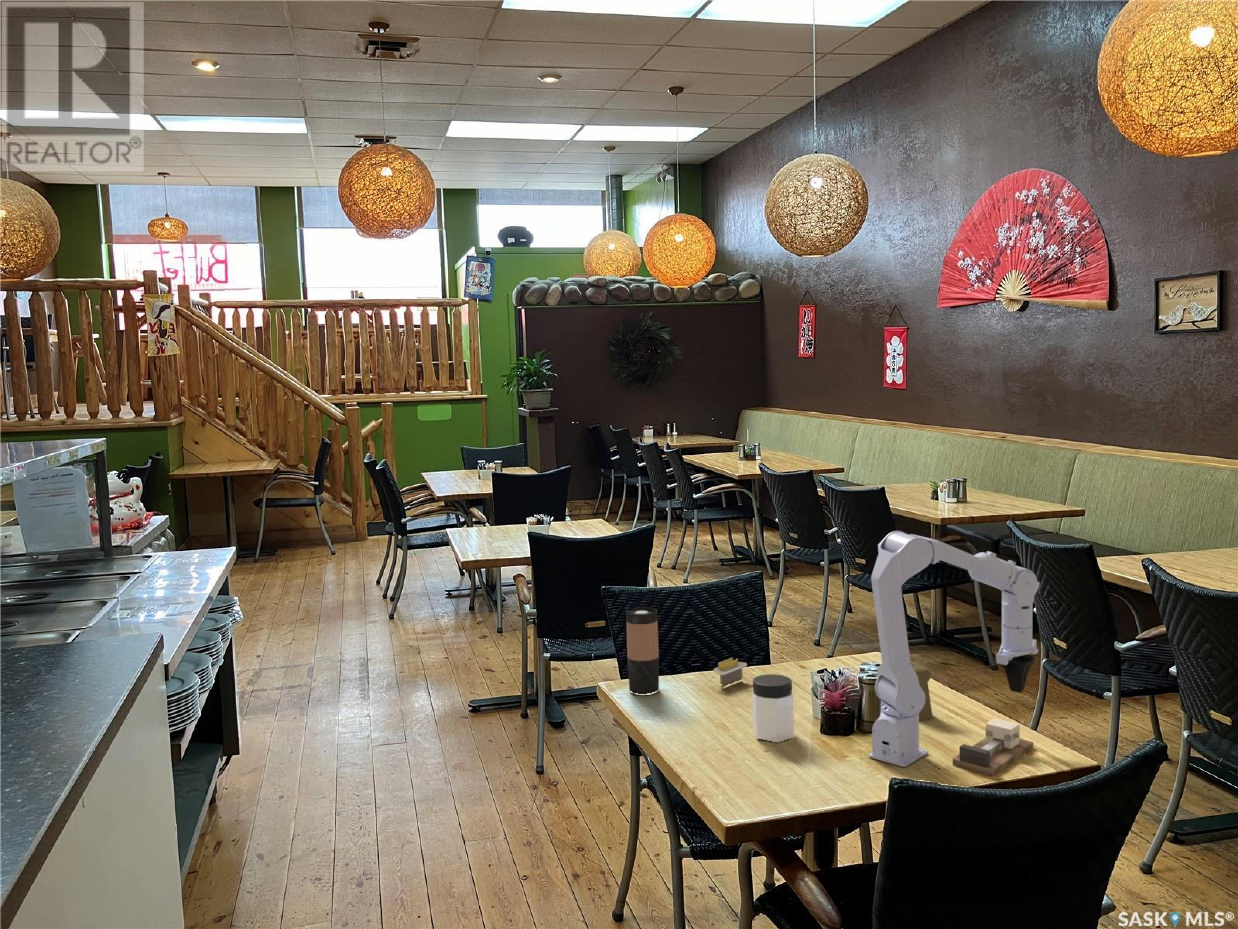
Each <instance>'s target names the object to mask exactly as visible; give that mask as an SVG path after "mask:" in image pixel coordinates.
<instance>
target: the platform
mask: <svg viewBox="0 0 1238 929" xmlns="http://www.w3.org/2000/svg"><path fill="white" fill-rule="evenodd" d="M717 663H718V664H717V665H718V666H717V667H715V668H713V672H714V673H715V674H717V675H719V676H720V677H719V680H720V681H719V685H720V684H722V687H724V686H726V685H728V684H732V683H734V682H735V681H739V680H741V679H742V680H743V668H745V667H747V666H748V664H747V662H744V661H743V662H742V661H739V658H736V659H734V660H733V657H731V658H728V659H724V660H722V661H719V662H717ZM722 687H721V688H722Z"/></svg>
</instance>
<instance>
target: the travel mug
mask: <svg viewBox="0 0 1238 929" xmlns="http://www.w3.org/2000/svg"><path fill="white" fill-rule="evenodd" d="M625 616H626V646H627V647H626V648H627V649H626V652H627V654H626V656H627V672H628V687H629V688H628V689H629V692H630V691H632V692H633V693H638V694H647V693H652V692H655V691H657V690H658V689H660V670H659V669H660V663H659V662H660V661H659V660H660V657H659V656H660V654H659V653H660V651H659V628H658V627H659V626H658V610H657V609H656V608H654V607H649V606H637V607H634V608H633V609H632V610H629V609H627V610H626V613H625Z"/></svg>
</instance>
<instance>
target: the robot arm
mask: <svg viewBox="0 0 1238 929" xmlns="http://www.w3.org/2000/svg"><path fill="white" fill-rule="evenodd" d="M877 548H878V549H877V551H878V555H877V557H876V560H875V564H874V567H873V570H872V573H871V577H870V578H871V587H872V594H873V603H874V612H875V616H876V617H875V619H876V626H877V633H878V640H879V641H878V642H879V647H880V648H879V649H880V656H881V662H882V663H881V664H880V665H879V666H878V667H877V668H876V672H877V676H876V681H875V684H874V691H875V694H876V696H877V697H878V698H879V699H880V715H879V717H878V718H877V719H876V720H875V722H874V723H873V725H872V727H871V728H872V730H871V731H872V732H871V736H872V737H871V738H872V741H871V744H872V747H871V749H872V751H871V752H870V753H868V754H867V755H868V757H869V758H872V759H875V760H878V761H882V762H884V763H889V764H892V765H896V766H898V767H902V768H906V767H907V766H909V765H910V764H912V763H914V762H916V761H917V760H919V759H920V758H922V757H924V756H925V755H927V754H928V753H929V751H928V750H927V749H923V748H920V720H919V712H920V711H921V710H922V708H923V707H924V704H925V693H924V691H923V690H922V688H921V687H920V685H919V680H918V676H917V674H916V672H915V671H914V669H913V667H912V666H913V665H912V663H911V656H910V648H909V641H908V632H907V624H906V617H905V610H904V609H905V607H904V601H903V592H902V586H903V585H904V584H905V583H906V581H907V580H909V579H910V578H913V577H914V576H915V575H917V574H918V573H920V572H921V571H922V570H923V571H924V569H926V568H927V567H928V566H929V565H930V564H933V565H936V563H938V562H939V561H942V562H944V563H947V564H950V565H953V566H956V567H959V568H961V569H965V570H967V571H968V574H969V576H970V578H971V579H972V580H974V581H977V582H980V583H982V584H985V585H988V586H989V587H993V588H995V589H998V590H999V591H1001V645H1000V647H999V651H998V653H996V655H995V656H996V657H995V659H996V661H995V662H996V664H999V665H1001V666H1002V667H1003V670H1004V672H1005V676H1006V679H1007V682H1008V687H1009V691H1010V692H1015V693H1018V694H1021V693H1023V691H1024V690H1025V686H1026V684H1027V683H1026V682H1027V679H1028V676H1029V672H1030V669H1031V668H1032V665H1033V664H1034V661H1035V660H1036V659H1035V656H1034V655H1036V654H1039V649H1038V648H1037V645H1038V644H1037V639H1033V615H1034V614H1033V605H1034V604H1033V603H1035V596H1036V594H1037V592H1038V590H1039V588H1040V584H1041V583H1040V581H1038V578H1037V576H1036V574H1035V573H1034V571H1033V570H1030V569H1029V568H1025V567H1022V566H1018V565H1016V564H1017V563H1016V561H1013V560H1011V559H1009V560H1007V561H1006V560H1004V559H1001V558H999V557H997V553H995V552H992V551H988V550H987V551H986V552H984V551H983V552H982V551H981V552H978V553H976V554H974V555H973V554H971V553H969V552H967V551H964V550H961V549H959V548H957V547H954V546H953V545H949V544H947V543H945V542H944V541H940V540H937V539H934V538H930V537H927V536H926V537H925V536H922V535H917V534H912V533H909V534H908V533H906V532H904V531H902V530H894V531H891V532H889V533H888V534H887V535H885V537H883V539H882V540H881V541H880V542H879V543H878V544H877Z"/></svg>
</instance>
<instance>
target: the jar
mask: <svg viewBox="0 0 1238 929" xmlns="http://www.w3.org/2000/svg"><path fill="white" fill-rule="evenodd" d="M751 693H752V694H751V698H752V732H753V734H754V736H755V739H756V738H757V739H763V740H768V741H772V742H771V743H774V742H777V743H776V744H778V742H779V743H781V741H782V742H785V741H784V740H786V741H788V740H787V739H789V740H792V739H794V738H795V728H794V726H795V725H794V720H795V719H794V694H793V681H792V679H791V678H790V677H789V676H785V675H780V674H773V673H771V674H770V673H769V674H762V675H757V676H755V677H754V678H753V679H752V690H751ZM791 738H792V739H791ZM757 739H756V740H757ZM768 741H767V742H768Z"/></svg>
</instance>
